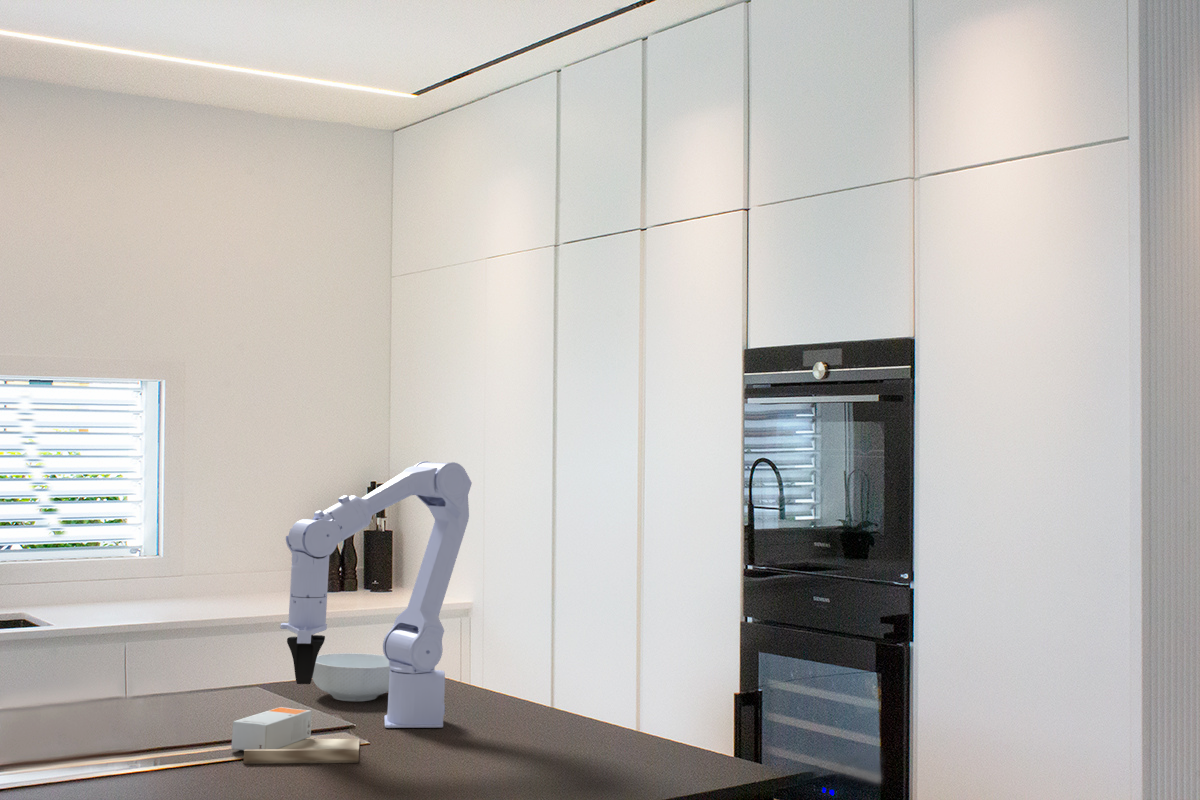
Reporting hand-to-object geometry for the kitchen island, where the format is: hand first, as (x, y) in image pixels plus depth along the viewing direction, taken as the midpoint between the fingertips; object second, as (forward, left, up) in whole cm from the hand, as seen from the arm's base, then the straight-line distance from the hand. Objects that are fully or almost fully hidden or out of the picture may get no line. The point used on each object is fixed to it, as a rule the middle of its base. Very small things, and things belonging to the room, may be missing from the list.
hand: (303, 683), depth 181 cm
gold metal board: (-1, +9, -8) cm, 12 cm away
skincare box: (+1, 0, -6) cm, 6 cm away
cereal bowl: (-8, -32, -9) cm, 34 cm away
